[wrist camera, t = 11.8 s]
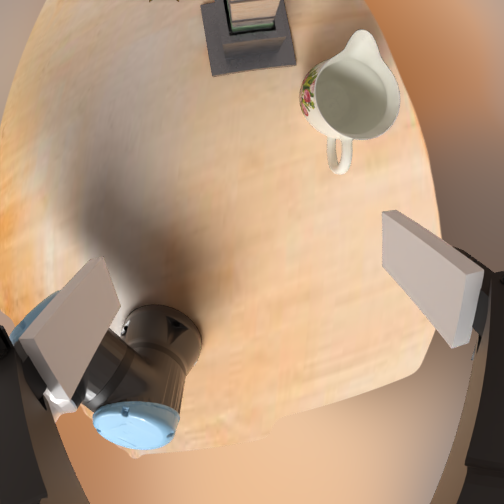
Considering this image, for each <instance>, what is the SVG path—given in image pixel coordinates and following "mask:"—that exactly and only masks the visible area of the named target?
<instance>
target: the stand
mask: <svg viewBox="0 0 504 504" xmlns="http://www.w3.org/2000/svg"><path fill="white" fill-rule="evenodd" d="M201 11H202V18H203V24H204V30H205V36H206V42H207V48H208V54H209V60H210V66H211V72H212V76H213V77H216V76H222V75H227V74H233V73H240V72H247V71H254V70H261V69H270V68H279V67H289V66H296V60H295V55H294V50H293V44H292V39H291V34H290V29H289V24H288V19H287V14H286V10H285V5H284V0H280V2H279V5H278V8H277V11H276V14H275V15H276V18H274V21H273V27H271V30H265V31H256V32H248V33H240V34H234V35H233V32H232V27H231V22H230V16H229V10H228V5H227V0H215V3H209V4H204V5H201Z"/></svg>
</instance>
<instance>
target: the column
mask: <svg viewBox="0 0 504 504" xmlns="http://www.w3.org/2000/svg"><path fill="white" fill-rule="evenodd" d="M279 2H280V0H227V5H228V10H229V16H230V22H231V27H232V32H233V35H234V34H240V33H248V32H256V31H265V30H271V27H273V21H274V18H276V15H275V14H276V11H277V8H278V5H279Z"/></svg>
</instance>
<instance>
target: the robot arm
mask: <svg viewBox="0 0 504 504" xmlns="http://www.w3.org/2000/svg"><path fill="white" fill-rule="evenodd" d="M382 266H383V268H384V269H385V270H386V271H387V272H388V273H389V274H390V275H391V276H392V278H393V279H394V280H395V281H396V282H397V283H398V284H399V286H400V287H401V288H402V289H403V290H404V291H405V292H406V294H407V295H408V296H409V297H410V298H411V299H412V301H413V302H414V303H415V304H416V305H417V307H418V308H419V309H420V310H421V311H422V313H423V314H424V315H425V316H426V317H427V319H428V320H429V321H430V322H431V323H432V325H433V326H434V327H435V328H436V330H437V331H438V332H439V333H440V334H441V336H442V337H443V338H444V339H445V341H446V342H447V343H448V344H449V346H450V347H451V348H455V347H457V346H460V345H464V344H466V343H469V340H470V336H471V333H472V329H473V328H474V329H475V331H477V333H478V334H479V335H478V339H477V342H476V346H475V349H474V353H473V355H472V359H471V360H473V365H472V371H471V376H470V381H469V386H468V390H467V395H466V399H465V403H464V407H463V411H462V415H461V418H460V422H459V425H458V429H457V432H456V436H455V439H454V442H453V445H452V449H451V451H450V454H449V457H448V460H447V463H446V466H445V468H444V471H443V474H442V476H441V479H440V481H439V484H438V486H437V489H436V491H435V493H434V496H433V498H432V501H431V503H430V504H504V271H501V272H496V273H494V272H492V271H491V270H490V269H489V268H487V267H486V266H485V265H483V264H482V263H480V262H479V261H477V260H476V259H475V258H474V257H471V255H469V254H468V253H466V252H465V251H464V250H461V249H459V248H456V247H453V246H451V245H449V244H448V243H446V242H445V241H443V240H442V239H440V238H439V237H437V236H436V235H434V234H433V233H432V232H430V231H429V230H427V229H425V228H424V227H422V226H421V225H419V224H418V223H416V222H415V221H413V220H412V219H410V218H409V217H407V216H405V215H404V214H402V213H401V212H399V211H397V210H392V211H384V212H382ZM120 307H121V305H120V302H119V300H118V297H117V294H116V291H115V289H114V286H113V283H112V280H111V277H110V274H109V272H108V269H107V266H106V263H105V259H104V257H99V258H93V259H90V260H89V261H88V262H87V263H86V264H85V265H84V266H83V267H82V268H81V269H80V270H79V271H78V272H77V273H76V275H75V276H74V277H73V278H72V279H71V280H70V281H69V282H68V283H67V284H66V285H65V286H64V287H63V288H62V289H61V290H59V291H56V292H54V293H53V294H51V295H50V296H48V297H47V298H46V299H44V300H43V301H42V302H41V303H39V304H38V305H37V306H36V307H35V308H34V309H33V310H32V311H31V312H30V313H28V314H27V316H26V317H25V318H24V319H23V321H21V322H20V323H19V324H18V325H17V326H16V327H15V328H14V330H13V331H12V333H11V334H10V337H8V335H7V333H6V331H5V329H4V327H3V326H1V325H0V504H90V503H89V501H88V499H87V497H86V495H85V493H84V491H83V489H82V487H81V485H80V482H79V481H78V478H77V476H76V474H75V472H74V469H73V467H72V465H71V462H70V460H69V458H68V455H67V453H66V450H65V448H64V445H63V443H62V440H61V438H60V435H59V432H58V430H57V427H56V424H55V423H56V421H57V419H58V418H59V416H60V415H61V414H63V413H70V412H75V411H76V410H77V408H78V407H79V405H80V404H81V403H82V404H83V405H85V406H86V407H87V408H89V409H90V410H91V411H93V412H94V414H93V424H94V427H95V428H96V429H97V432H98V433H99V434H100V435H102V436H103V437H104V438H105V439H107V440H109V441H111V442H112V443H115V444H117V445H120V446H123V447H126V448H131V449H140V450H150V449H156V448H160V447H162V446H165V445H166V444H168V443H169V442H170V441H171V440H172V439H173V437H174V435H175V432H176V428H177V425H178V422H179V420H180V415H179V414H180V408H181V402H182V396H183V390H184V384H185V378H186V376H187V374H188V373H189V372H190V370H191V369H192V367H193V366H194V365H195V364H196V362H197V361H198V358H199V355H200V350H201V336H200V333H199V331H198V329H197V327H196V326H195V324H194V323H193V322H192V321H191V320H190V319H189V318H188V317H187V316H186V315H184V314H183V313H181V312H179V311H178V310H175V309H173V308H170V307H167V306H162V305H147V306H143V307H140V308H138V309H136V310H134V311H133V312H132V313H131V314H130V315H129V316H128V317H127V319H126V321H125V323H124V325H123V327H122V330H121V338H120V337H119V336H118V335H117V334H116V333H114V332H113V331H112V330H111V329H110V328H109V326H110V324H111V323H112V321H113V319H114V317H115V316H116V314H117V312H118V311H119V309H120Z"/></svg>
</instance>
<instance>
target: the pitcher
mask: <svg viewBox="0 0 504 504" xmlns="http://www.w3.org/2000/svg"><path fill="white" fill-rule="evenodd" d="M300 106H301V110H302V112H303V114H304V116H305V118H306V119H307V121H308V122H309V123H310V124H311V125H312V127H314V128H315V129H316V130H317V131H319V132H320V133H322V134H324V135H326V136H327V159H328V164H329V167H330V169H331V171H332V172H333V173H335V174H344V173H346V172H347V171H348V169H349V167H350V164H351V160H352V141H353V139H356V140H368V139H373V138H376V137H378V136H380V135H382V134H383V133H385V132H386V131H387V130H388V129H389V128H390V127H391V126H392V125H393V123H394V122H395V120H396V118H397V116H398V113H399V108H400V91H399V87H398V84H397V81H396V79H395V77H394V75H393V73H392V72H391V70H390V69H389V68H388V66H387V65H386V64H385V62H384V61H383V59H382V57H381V55H380V52H379V48H378V46H377V43H376V41H375V39H374V37H373V35H372V34H371V33H370V32H369V31H366V30H363V29H359V30H357V31H355V32H354V33H353V35H352V36H351V37H350V39H349V41H348V43H347V44H346V47H345V48H344V49H343V50H342V51H341V52H340V53H338V54H337V55H335V56H334V57H332V58H331V59H328V60H326V61H323V62H321V63H319V64H318V65H316V66H315V67H314V68H313V69H311V70H310V72H309V73H308V74H307V75H306V77H305V78H304V80H303V83H302V85H301V89H300ZM336 139H339V140H341V143H342V154H341V160H340V162H339V164H338V161H337V155H336Z"/></svg>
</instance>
